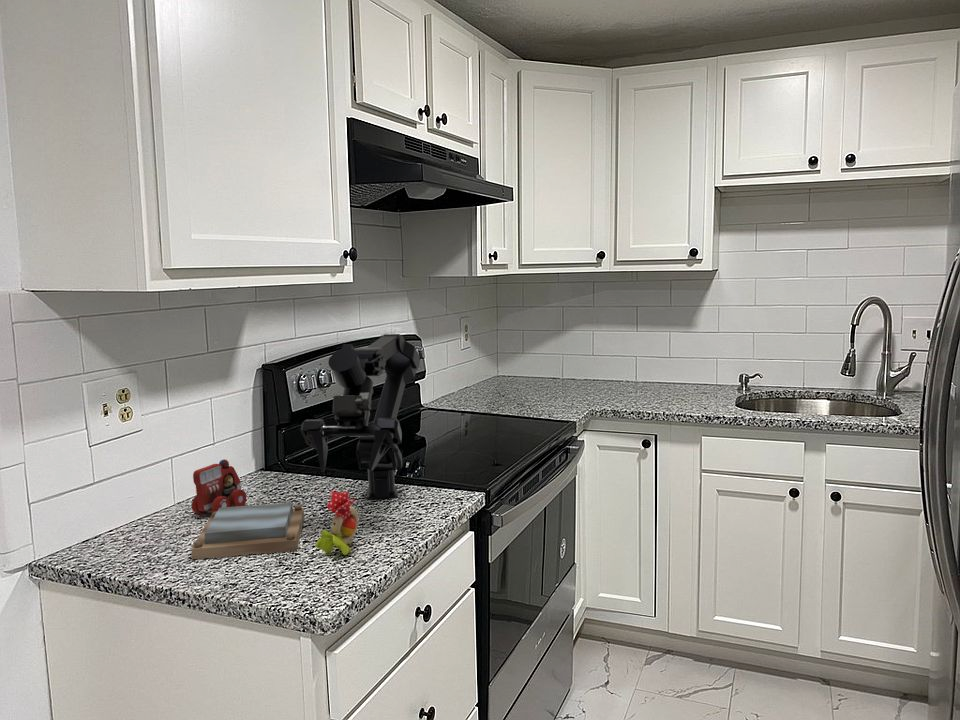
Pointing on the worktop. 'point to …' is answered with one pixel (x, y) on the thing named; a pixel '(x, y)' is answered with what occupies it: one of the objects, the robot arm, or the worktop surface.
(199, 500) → the toy fire truck
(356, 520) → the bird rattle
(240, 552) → the wooden toy tray
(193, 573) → the worktop surface
